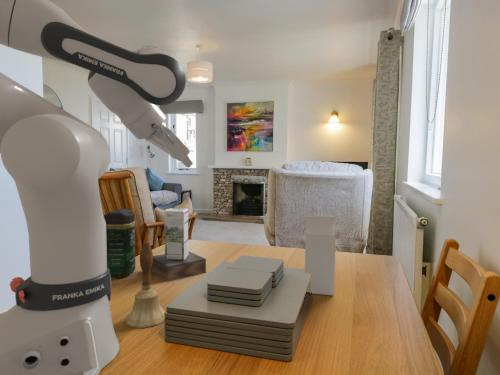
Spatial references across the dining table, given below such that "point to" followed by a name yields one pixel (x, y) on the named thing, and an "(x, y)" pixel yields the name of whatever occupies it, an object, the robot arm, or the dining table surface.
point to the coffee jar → (120, 242)
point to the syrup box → (176, 233)
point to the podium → (178, 266)
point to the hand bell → (146, 296)
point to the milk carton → (320, 253)
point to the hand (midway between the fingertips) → (182, 160)
